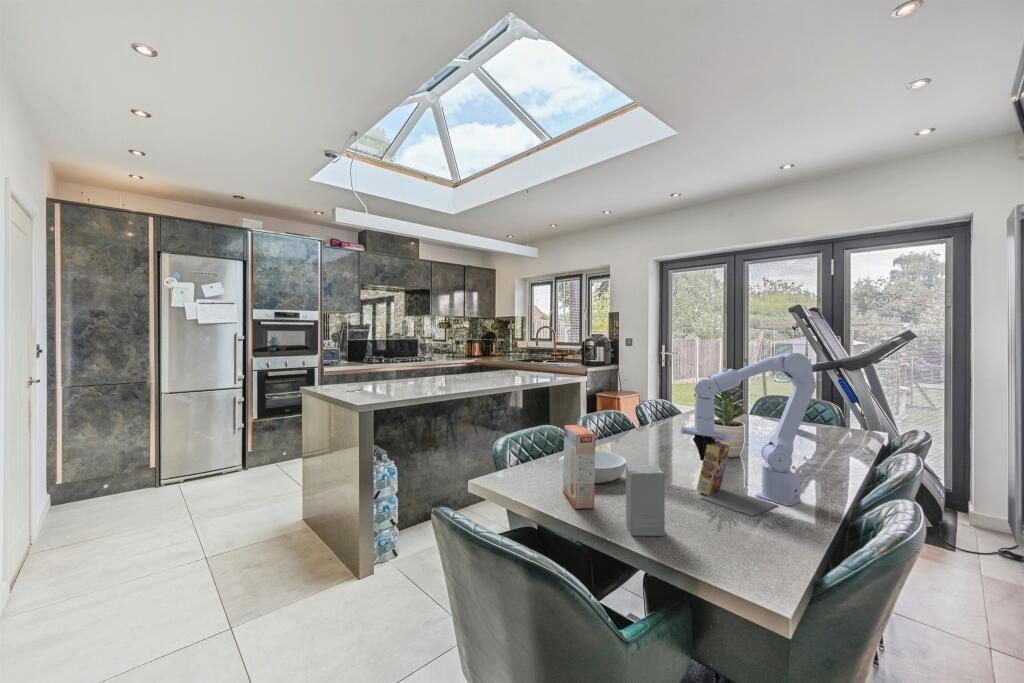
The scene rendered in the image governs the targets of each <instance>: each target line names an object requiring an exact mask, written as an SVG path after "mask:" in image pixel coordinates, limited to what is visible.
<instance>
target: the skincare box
mask: <svg viewBox="0 0 1024 683" xmlns="http://www.w3.org/2000/svg"><path fill="white" fill-rule="evenodd" d="M665 475H666V474H665V472H664V471H663V469H661V468H660V466H659V465H658V464H639V465H638V464H626V467H625V520H626V522H625V524H626V527H627V530H628V531H629V533H630V536H632V537H634V536H635V537H647V536H648V537H665V532H666V529H665V525H666V524H665V520H666V519H665V516H666V515H665V508H666V507H665Z"/></svg>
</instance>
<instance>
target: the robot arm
mask: <svg viewBox="0 0 1024 683" xmlns="http://www.w3.org/2000/svg"><path fill="white" fill-rule="evenodd" d="M769 371H771V372H781V373H784V375H786V376H787V377H788V379H789V381H790V382H791V383H792V386H793V388H792V390H791V392H790V395H789V397H788V399H787V402H786V404H785V408H784V409H783V412H782V414H781V416H780V419H779V422H778V424H777V427H776V429H775V431H774V434H773V435H772V436H771V437H770V438H769V440H768V442H767V443H766V444H764V445H763V446H762V448H761V451H760V452H761V457H762V458H763V459H764V462H763V464H762V466H761V492H758V493H756V494H755V497H756V498H757V497H758V498H761V499H764V500H768V501H769V502H770V501H771V502H773V503H778V504H781V505H784V506H786V507H790V506H793V505H795V504H797V503H799V502H802V499H801V485H802V483H801V482H802V481H801V476H800V475H799V474H798V473H796V472H793V471H791V467H792V465H793V459H792V458H793V452H794V441H795V439H796V436H797V433H798V431H799V429H800V426H801V423H802V421H803V419H804V417H805V414H806V411H807V409H808V407H809V404H810V401H811V400H812V397H813V394H814V392H815V390H816V388H817V383H816V379H815V375H814V372H813V364H812V363H811V361H810V360H809V359H808V358H807V357H806V356H805V355H804V354H802V353H800V352H790V351H785V352H783V353H781V354H775V355H772V356H769V357H766V358H763V359H761V360H758V361H756V362H754V363H752V364H750V365H747V366H745V367H742V368H740V369H737V370H736V369H733V368H722V369H721V371H720V372H718V373H715V374H713V375H711V374H708V375H706V377H707V378H700V379H698V380H697V381H696V382H695V384H694V387H693V390H694V392H695V393H696V394H695V397H694V399H695V402H694V427H686V426H684V427H681V428H680V434H681V435H689V436H690V435H691V436H694V437H693V438H692V441H693V442H694V444H695V447H696V449H697V452H698V456H699V459H700V461H702V462H703V460H704V456H705V451H706V447H707V444H710V443H713V442H715V441H722V442H725V443H728V442H729V441H730V434H729V433H727V434H726V433H723V432H719V431H715V418H716V416H715V411H716V410H715V408H716V407H715V406H716V405H715V395H716V394H720V393H723V392H726V391H728V390H731V389H733V388H737V387H739V386H740V385H741V383H742V381H743V380H745V379H746V380H747V379H748V378H751V377H755V376H758V375H760V374H763V373H765V372H766V373H767V372H769Z"/></svg>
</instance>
